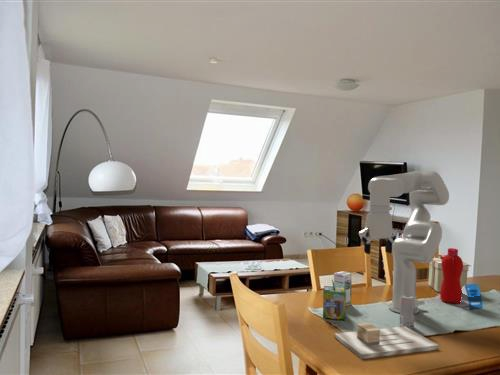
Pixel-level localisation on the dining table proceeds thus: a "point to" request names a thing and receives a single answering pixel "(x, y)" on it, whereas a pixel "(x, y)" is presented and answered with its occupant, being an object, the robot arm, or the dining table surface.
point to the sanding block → (368, 334)
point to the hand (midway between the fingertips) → (378, 253)
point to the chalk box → (334, 302)
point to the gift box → (437, 274)
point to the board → (387, 343)
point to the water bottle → (451, 277)
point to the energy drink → (407, 311)
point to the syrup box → (344, 283)
